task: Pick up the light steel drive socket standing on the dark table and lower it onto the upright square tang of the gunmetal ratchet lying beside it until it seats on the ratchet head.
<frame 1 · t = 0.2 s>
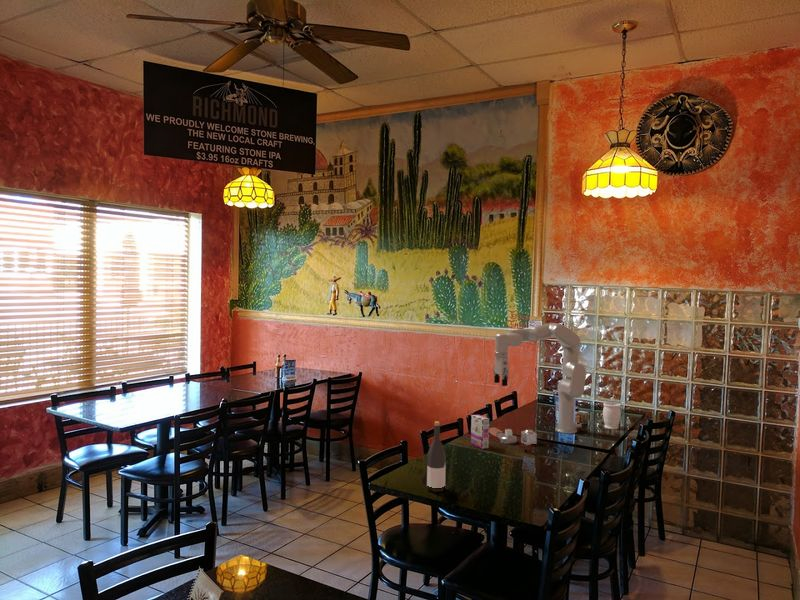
hand: (500, 384, 343), 31 cm above the table, tool pointing down, fingers open, 9 cm apart
socket: (528, 443, 331), on the table
candy bar box: (479, 446, 325), on the table
wine bottle: (436, 489, 260), on the table
jar: (611, 428, 367), on the table
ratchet: (508, 442, 333), on the table
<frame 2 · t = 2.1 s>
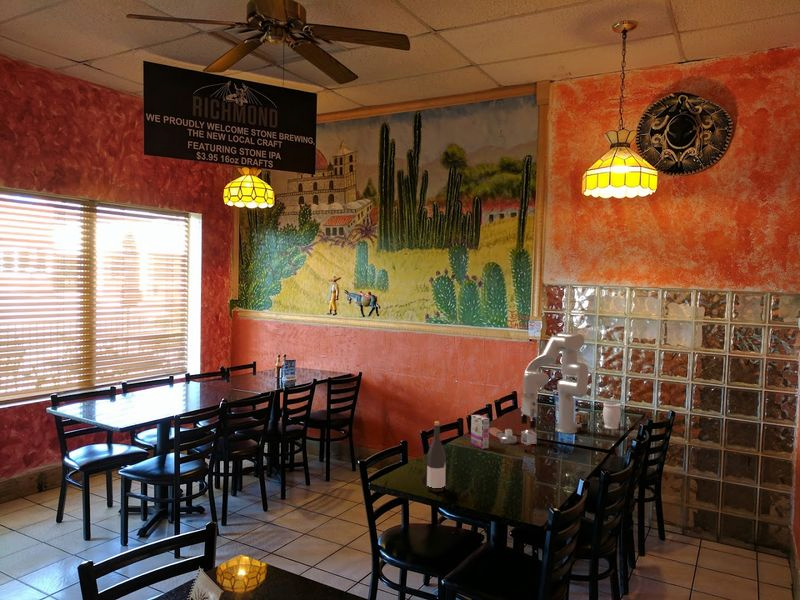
hand: (528, 425, 330), 10 cm above the table, tool pointing down, fingers open, 9 cm apart
nothing on the table moved.
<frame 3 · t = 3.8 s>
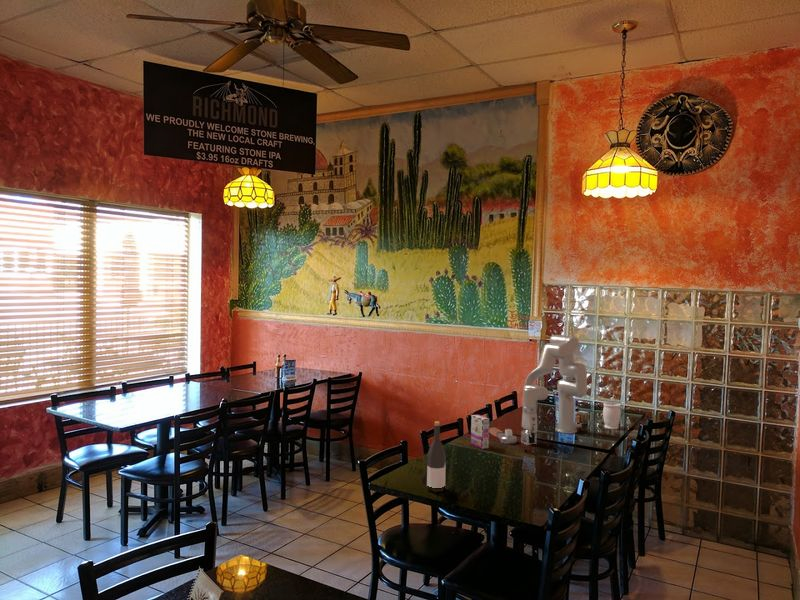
hand: (528, 441, 331), 1 cm above the table, tool pointing down, fingers closed on socket, 6 cm apart
socket: (528, 443, 331), on the table, touching gripper
everything else where it was.
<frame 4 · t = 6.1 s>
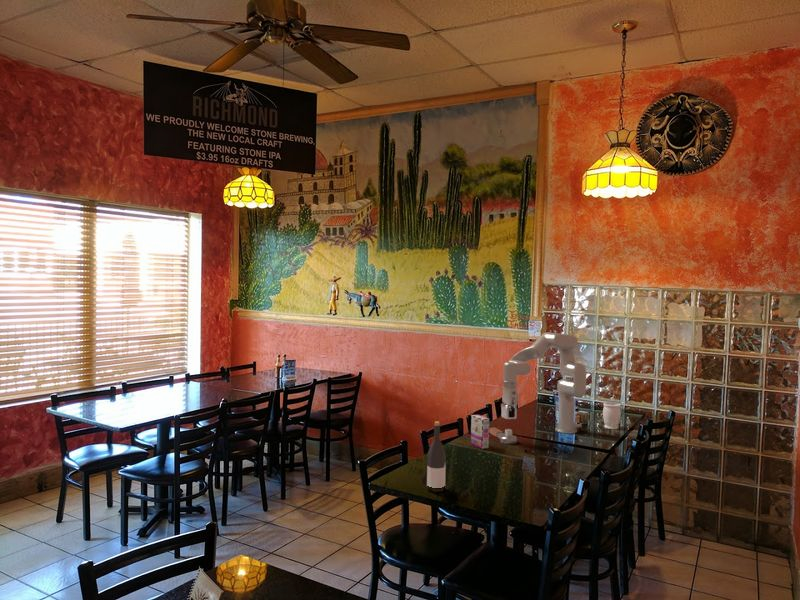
hand: (508, 415, 332), 15 cm above the table, tool pointing down, fingers closed on socket, 6 cm apart
socket: (508, 417, 332), point 14 cm above the table, touching gripper
everything else where it was.
when the fingers open (5 cm above the table, at t = 8.7 s): socket stays where it is, resting on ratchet.
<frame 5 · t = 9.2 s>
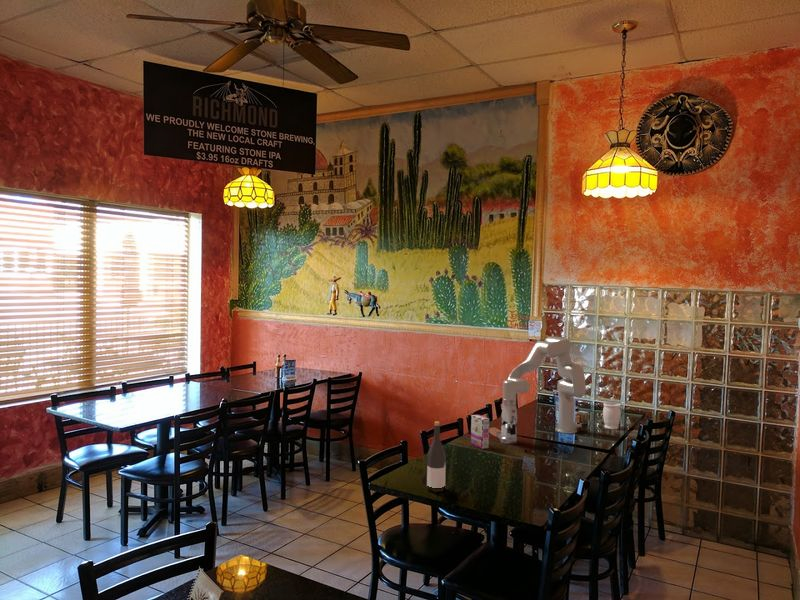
hand: (508, 432, 333), 6 cm above the table, tool pointing down, fingers open, 9 cm apart
socket: (508, 436, 333), point 3 cm above the table, touching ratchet
everything else where it was.
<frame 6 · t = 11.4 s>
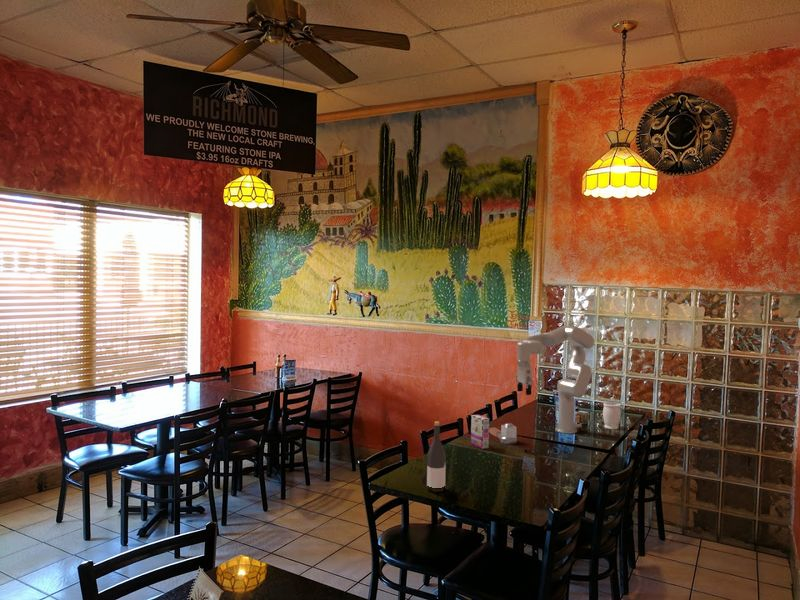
hand: (524, 392, 340), 26 cm above the table, tool pointing down, fingers open, 9 cm apart
nothing on the table moved.
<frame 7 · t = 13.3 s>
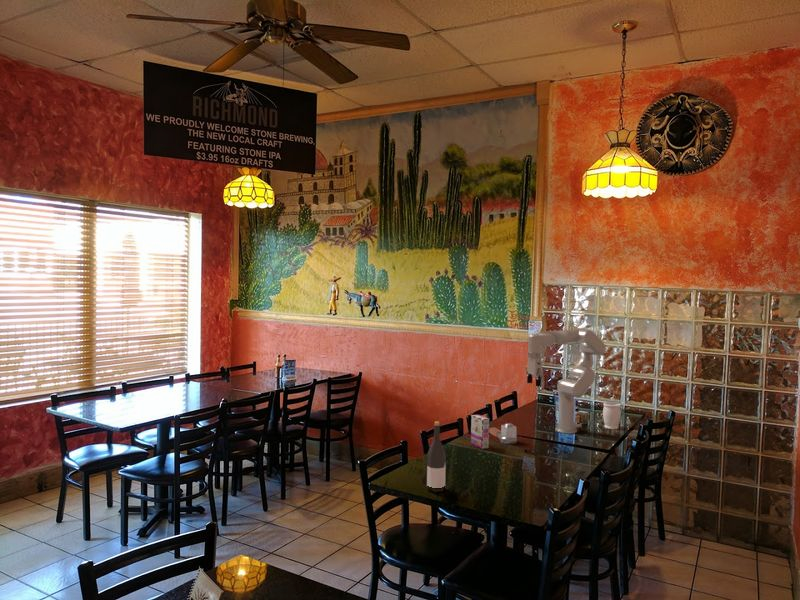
hand: (533, 384, 345), 30 cm above the table, tool pointing down, fingers open, 9 cm apart
nothing on the table moved.
at the end: socket 0.1 cm off-centre on the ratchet, point 3.0 cm above the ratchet's base; socket tilted 0°; the gripper is holding nothing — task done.
